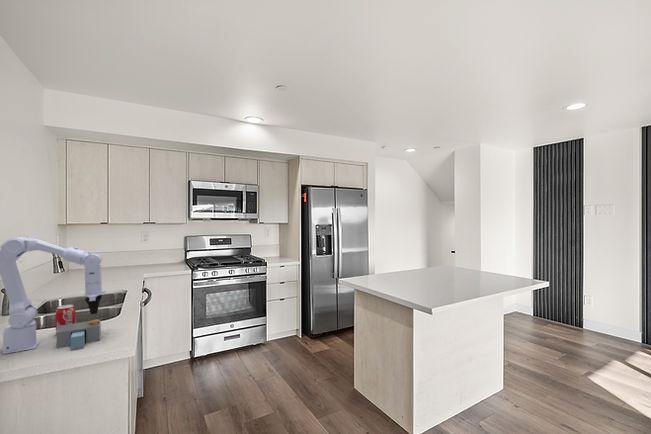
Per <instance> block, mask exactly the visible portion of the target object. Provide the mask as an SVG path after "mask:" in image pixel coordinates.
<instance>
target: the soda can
mask: <svg viewBox="0 0 651 434" xmlns="http://www.w3.org/2000/svg"><path fill="white" fill-rule="evenodd" d="M76 313H77V312H76V308H75V306H74V304H71V303H70V304H69V303H68V304H61V305H59V306H57V307H56V310H55V315H54V316H55V317H54V318H55V332H56V333H57V331H58V329H59V327H60V326H61V325H68V324H75V323H77V317H76V316H77V315H76Z"/></svg>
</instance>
